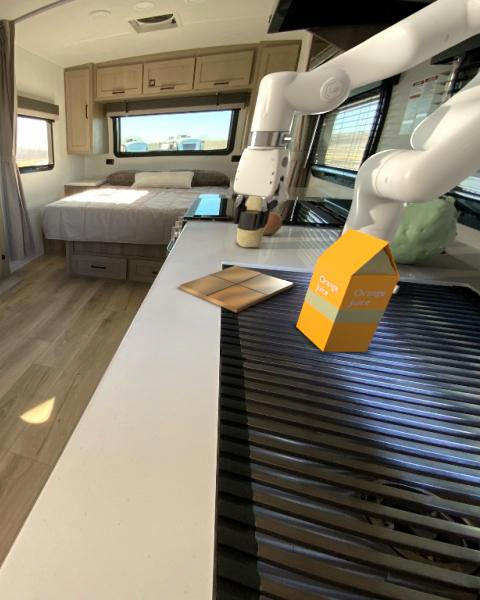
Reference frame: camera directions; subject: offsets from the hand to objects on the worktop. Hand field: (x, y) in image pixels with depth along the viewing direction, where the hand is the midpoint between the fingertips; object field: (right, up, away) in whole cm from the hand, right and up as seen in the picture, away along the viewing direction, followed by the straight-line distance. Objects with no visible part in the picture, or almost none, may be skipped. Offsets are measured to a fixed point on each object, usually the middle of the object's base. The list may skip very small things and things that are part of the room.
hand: (249, 224), depth 79 cm
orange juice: (+7, -26, -17) cm, 31 cm away
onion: (+31, +7, +49) cm, 58 cm away
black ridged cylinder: (0, -1, 0) cm, 1 cm away
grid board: (-1, -15, +5) cm, 16 cm away
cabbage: (+56, -7, +19) cm, 59 cm away
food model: (+18, +1, +36) cm, 40 cm away
